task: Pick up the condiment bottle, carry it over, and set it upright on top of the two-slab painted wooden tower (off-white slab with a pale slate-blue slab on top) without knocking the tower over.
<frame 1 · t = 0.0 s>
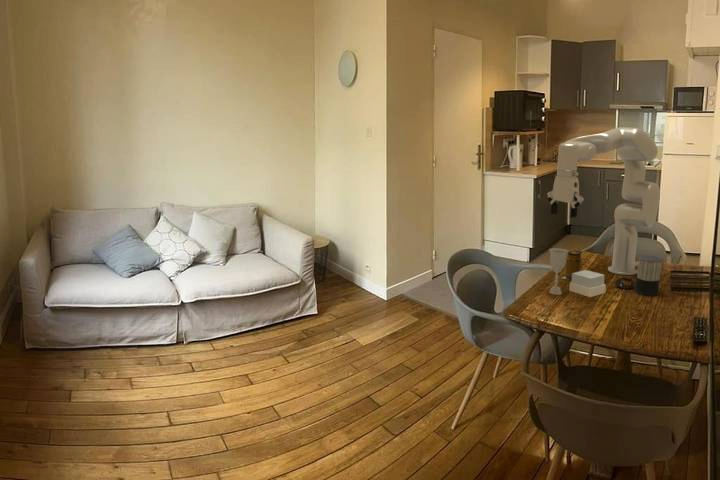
hand: (563, 215, 244), 31 cm above the table, fingers open, 9 cm apart
tower base: (587, 292, 247), on the table
tower top: (587, 283, 246), point 4 cm above the table
chalice: (555, 293, 246), on the table
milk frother: (636, 290, 248), on the table
condiment: (574, 279, 265), on the table
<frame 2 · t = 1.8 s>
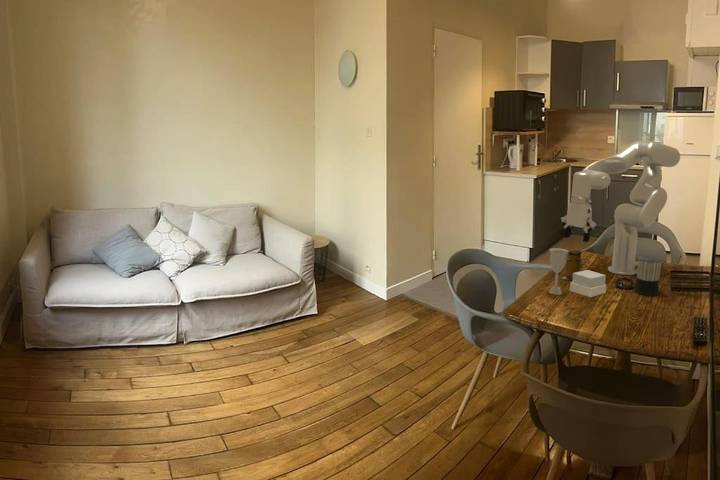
hand: (576, 239, 260), 18 cm above the table, fingers open, 9 cm apart
nothing on the table moved.
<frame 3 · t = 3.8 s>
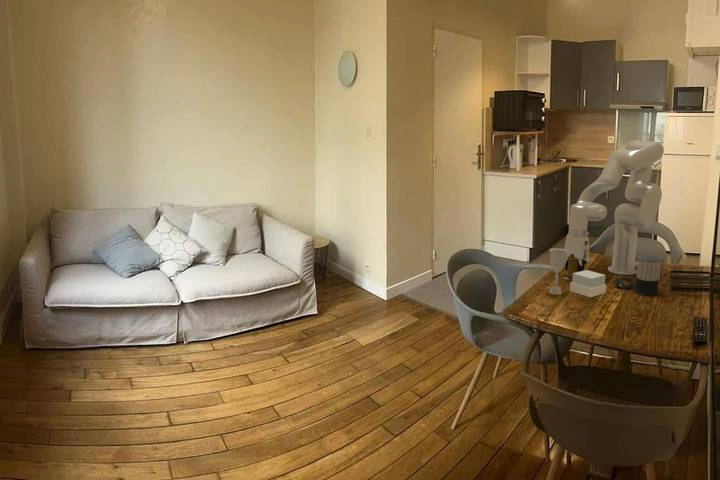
hand: (574, 271, 264), 3 cm above the table, fingers closed on condiment, 6 cm apart
condiment: (575, 279, 264), on the table, touching gripper
everything else where it was.
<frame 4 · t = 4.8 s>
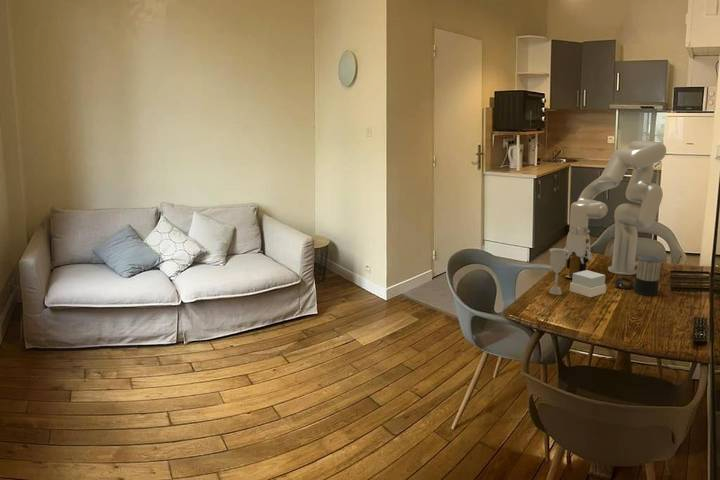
hand: (576, 269, 264), 4 cm above the table, fingers closed on condiment, 6 cm apart
condiment: (577, 277, 264), point 1 cm above the table, touching gripper
everything else where it was.
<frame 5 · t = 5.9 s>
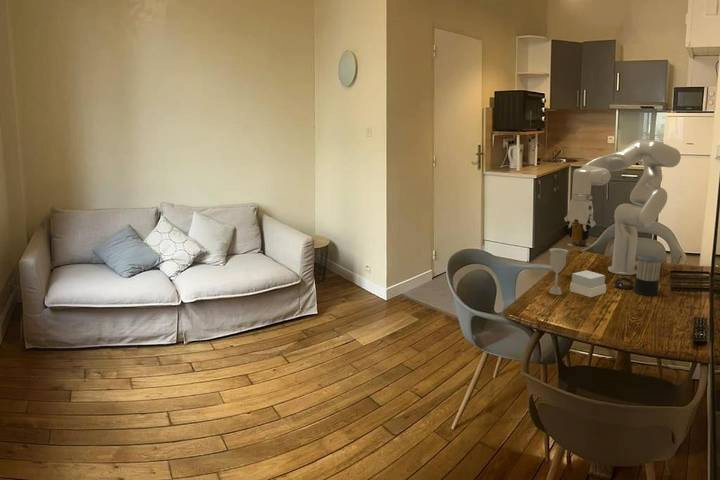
hand: (578, 237, 260), 19 cm above the table, fingers closed on condiment, 6 cm apart
condiment: (580, 245, 261), point 15 cm above the table, touching gripper
everything else where it was.
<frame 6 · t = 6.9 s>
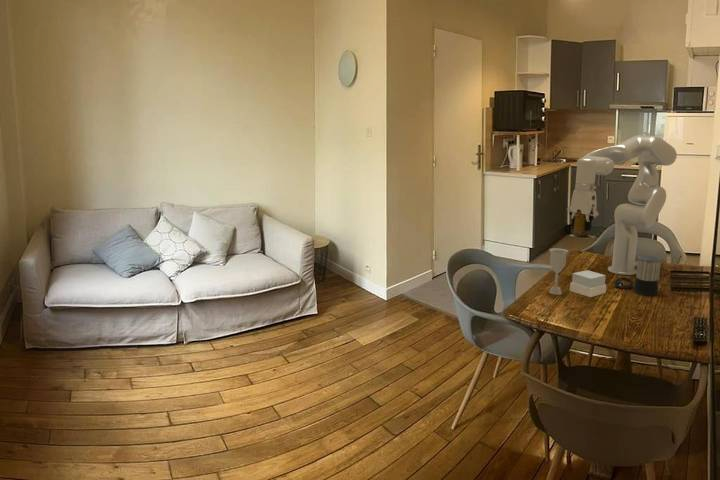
hand: (581, 228, 255), 24 cm above the table, fingers closed on condiment, 6 cm apart
tower base: (587, 292, 246), on the table, touching tower top
tower top: (588, 283, 245), point 4 cm above the table, touching tower base
condiment: (582, 236, 255), point 20 cm above the table, touching gripper
everything else where it was.
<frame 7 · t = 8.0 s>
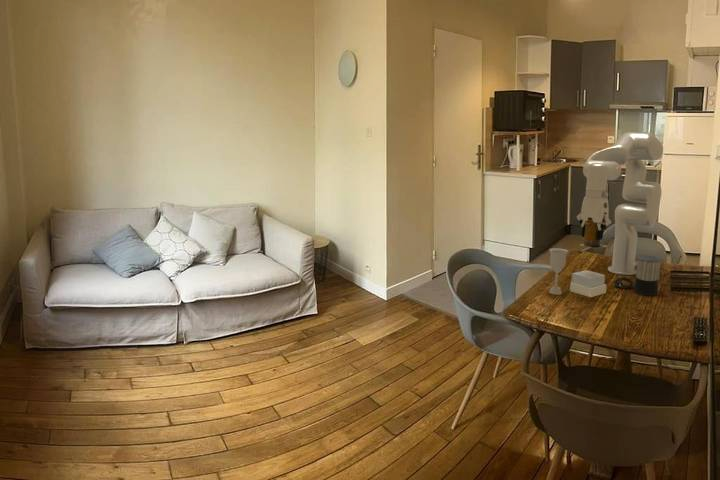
hand: (592, 237, 241), 23 cm above the table, fingers closed on condiment, 6 cm apart
condiment: (593, 246, 241), point 20 cm above the table, touching gripper
everything else where it was.
when the fingers open (12 cm above the table, at t = 10.7 s): condiment drops 1 cm, resting on tower top.
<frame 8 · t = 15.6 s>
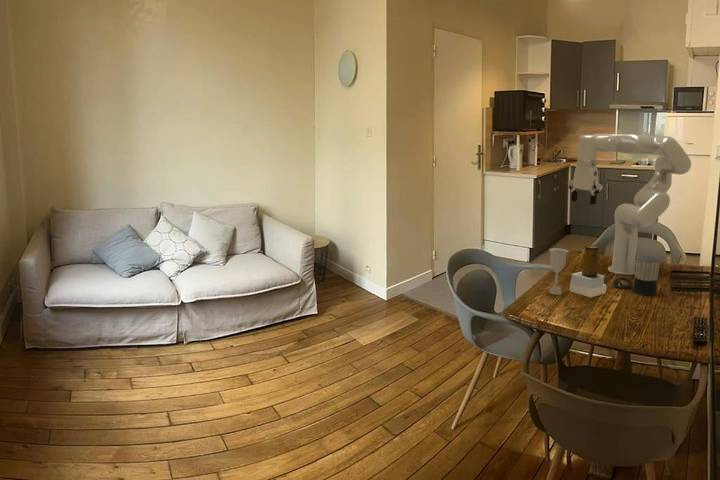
hand: (583, 202, 263), 33 cm above the table, fingers open, 9 cm apart
tower top: (587, 284, 245), point 4 cm above the table, touching condiment, tower base
condiment: (590, 276, 243), point 7 cm above the table, touching tower top
everything else where it was.
at the end: condiment 1.1 cm off-centre on the tower top, point 3.8 cm above the tower top's base; condiment tilted 0°; tower top moved 1.2 cm from its start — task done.
